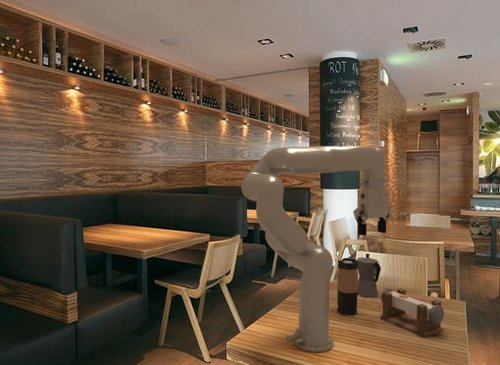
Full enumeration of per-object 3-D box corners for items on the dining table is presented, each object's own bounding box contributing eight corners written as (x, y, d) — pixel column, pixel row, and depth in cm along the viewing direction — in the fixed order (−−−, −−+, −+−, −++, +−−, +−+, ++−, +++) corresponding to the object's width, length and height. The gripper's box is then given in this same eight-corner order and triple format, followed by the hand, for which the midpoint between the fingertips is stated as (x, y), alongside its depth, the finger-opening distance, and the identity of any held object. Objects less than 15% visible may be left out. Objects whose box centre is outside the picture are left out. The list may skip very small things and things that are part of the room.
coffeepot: (349, 290, 171) (349, 251, 170) (367, 288, 173) (367, 249, 172) (369, 302, 156) (370, 259, 155) (388, 299, 159) (389, 257, 158)
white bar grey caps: (443, 322, 127) (444, 304, 126) (432, 326, 123) (432, 307, 123) (392, 303, 144) (392, 286, 144) (380, 306, 141) (381, 289, 141)
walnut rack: (443, 330, 129) (443, 302, 129) (424, 337, 124) (425, 308, 123) (398, 313, 144) (399, 287, 144) (380, 318, 139) (380, 292, 139)
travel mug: (358, 316, 141) (359, 263, 140) (337, 314, 143) (338, 262, 142) (356, 308, 149) (357, 258, 148) (336, 307, 150) (337, 257, 149)
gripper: (363, 185, 121) (362, 238, 121) (398, 184, 129) (397, 233, 130) (346, 184, 127) (345, 234, 128) (381, 183, 136) (380, 230, 137)
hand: (372, 233), depth 129 cm, fingers open, 9 cm apart
